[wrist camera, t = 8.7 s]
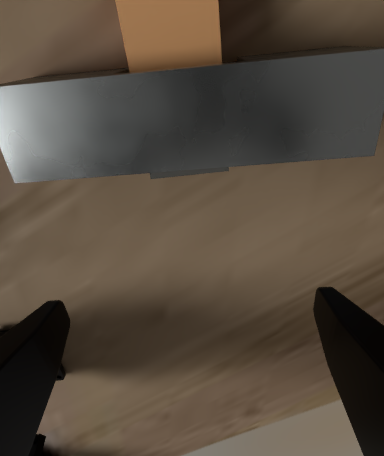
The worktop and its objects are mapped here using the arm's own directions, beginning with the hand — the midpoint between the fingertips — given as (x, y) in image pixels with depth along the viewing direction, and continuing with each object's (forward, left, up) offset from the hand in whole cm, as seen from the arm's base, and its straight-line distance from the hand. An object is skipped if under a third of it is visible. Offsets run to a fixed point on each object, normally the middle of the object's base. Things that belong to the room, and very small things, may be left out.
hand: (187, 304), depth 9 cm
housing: (+4, 0, -11) cm, 12 cm away
